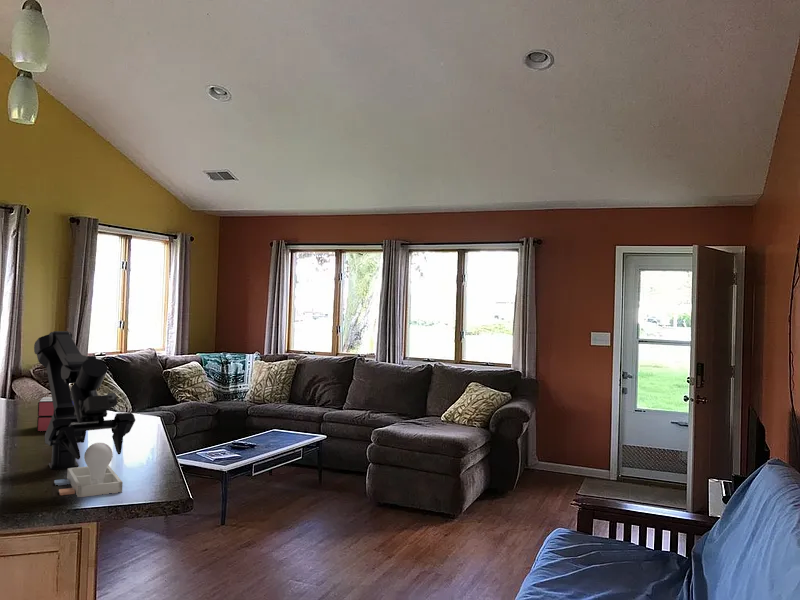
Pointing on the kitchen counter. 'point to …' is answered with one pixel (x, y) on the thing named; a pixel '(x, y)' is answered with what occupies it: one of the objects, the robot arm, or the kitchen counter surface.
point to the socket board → (89, 483)
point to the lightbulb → (98, 461)
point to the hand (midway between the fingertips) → (99, 455)
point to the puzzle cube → (45, 413)
